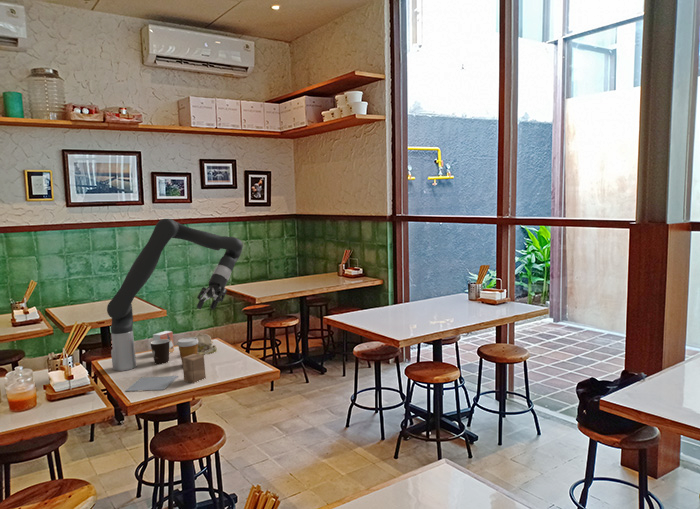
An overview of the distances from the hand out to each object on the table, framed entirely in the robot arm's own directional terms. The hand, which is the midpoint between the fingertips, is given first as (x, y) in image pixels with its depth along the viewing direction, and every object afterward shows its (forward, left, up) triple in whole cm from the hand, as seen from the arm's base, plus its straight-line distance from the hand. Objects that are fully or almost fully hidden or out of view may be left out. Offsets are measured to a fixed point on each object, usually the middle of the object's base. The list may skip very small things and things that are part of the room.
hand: (205, 308), depth 231 cm
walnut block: (-3, -12, -28) cm, 30 cm away
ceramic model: (-12, +30, -28) cm, 43 cm away
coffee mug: (-28, +17, -28) cm, 43 cm away
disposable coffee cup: (-12, +9, -28) cm, 32 cm away
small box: (-32, +31, -28) cm, 53 cm away
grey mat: (-20, -15, -28) cm, 37 cm away
